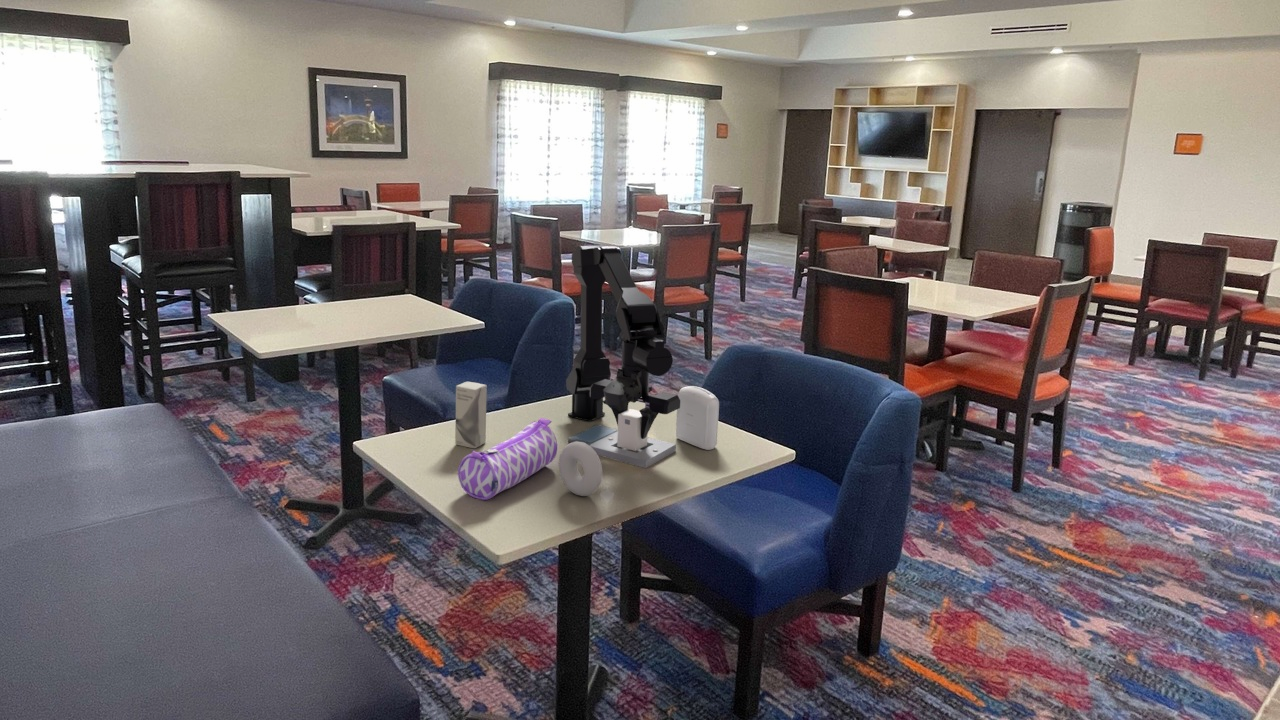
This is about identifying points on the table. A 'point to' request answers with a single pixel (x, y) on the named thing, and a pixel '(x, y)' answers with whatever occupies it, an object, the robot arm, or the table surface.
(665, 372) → the robot arm
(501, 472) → the pencil case
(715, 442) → the photo printer
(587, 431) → the phone
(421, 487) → the table surface
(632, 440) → the block
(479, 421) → the box
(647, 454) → the outlet plate
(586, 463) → the donut
